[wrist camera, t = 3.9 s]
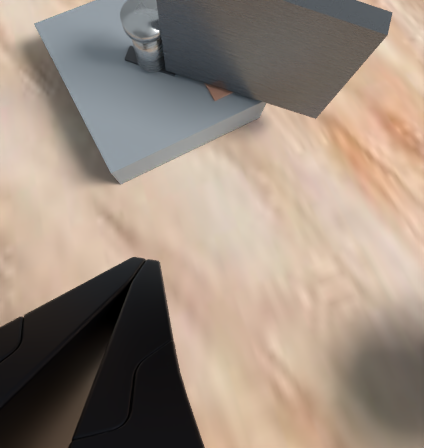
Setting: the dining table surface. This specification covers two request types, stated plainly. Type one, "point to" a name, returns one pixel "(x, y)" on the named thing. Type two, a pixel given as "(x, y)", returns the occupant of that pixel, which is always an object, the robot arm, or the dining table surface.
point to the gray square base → (135, 93)
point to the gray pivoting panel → (259, 45)
